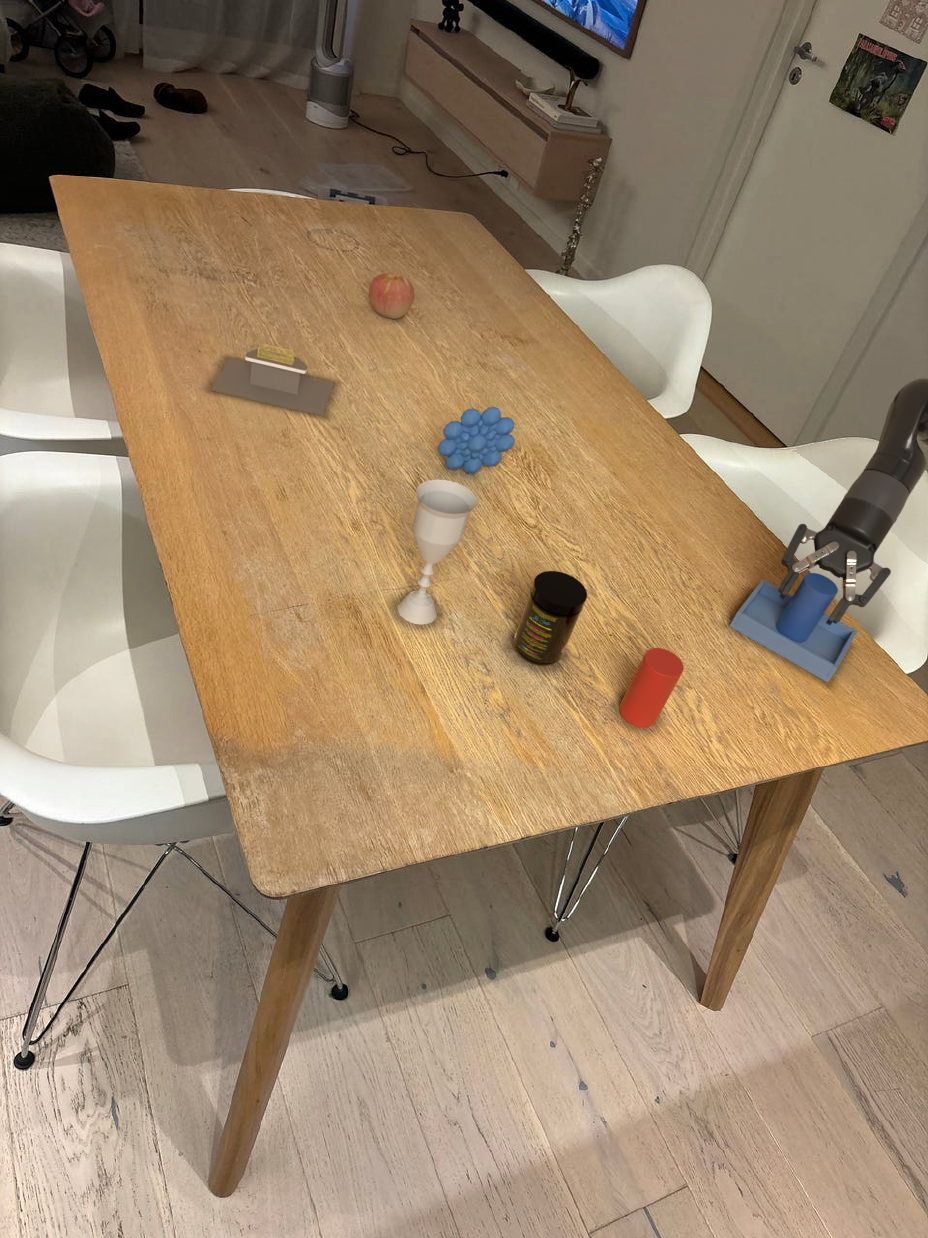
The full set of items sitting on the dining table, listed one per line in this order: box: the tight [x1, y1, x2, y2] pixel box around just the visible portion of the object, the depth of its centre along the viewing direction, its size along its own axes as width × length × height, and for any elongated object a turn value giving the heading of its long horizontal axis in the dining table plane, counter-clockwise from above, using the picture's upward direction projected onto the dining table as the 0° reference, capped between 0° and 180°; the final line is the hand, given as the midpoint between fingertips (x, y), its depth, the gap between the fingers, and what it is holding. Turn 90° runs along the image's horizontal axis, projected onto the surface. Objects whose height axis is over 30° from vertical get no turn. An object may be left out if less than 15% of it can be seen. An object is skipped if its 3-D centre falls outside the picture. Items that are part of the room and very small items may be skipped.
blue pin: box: [776, 572, 839, 643], centre depth 129 cm, size 5×5×9 cm
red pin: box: [618, 647, 685, 729], centre depth 110 cm, size 5×5×9 cm
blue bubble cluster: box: [437, 406, 515, 475], centre depth 143 cm, size 12×7×12 cm, turn 96°
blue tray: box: [729, 578, 858, 684], centre depth 132 cm, size 15×11×3 cm
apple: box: [368, 272, 415, 320], centre depth 181 cm, size 9×9×8 cm
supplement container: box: [512, 570, 588, 667], centre depth 114 cm, size 7×7×10 cm
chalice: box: [397, 479, 478, 625], centre depth 112 cm, size 7×7×18 cm
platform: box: [210, 343, 335, 417], centre depth 150 cm, size 12×18×7 cm, turn 87°
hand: (805, 610), depth 128 cm, fingers open, 6 cm apart
